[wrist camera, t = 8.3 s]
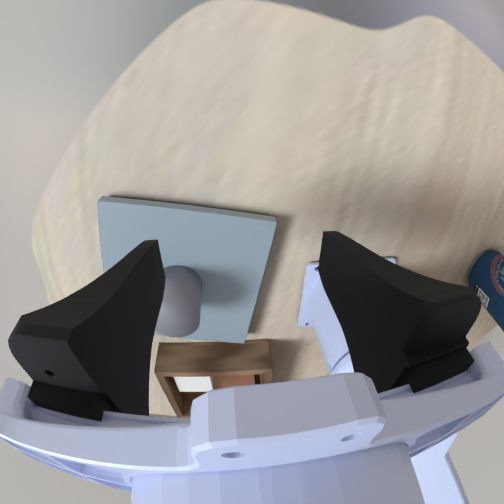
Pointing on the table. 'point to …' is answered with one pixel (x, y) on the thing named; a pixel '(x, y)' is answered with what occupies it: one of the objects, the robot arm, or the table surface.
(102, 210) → the lid
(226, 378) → the terracotta block
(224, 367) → the storage box
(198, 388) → the off-white block
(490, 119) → the table surface
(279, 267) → the table surface
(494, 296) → the soda can
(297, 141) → the table surface
